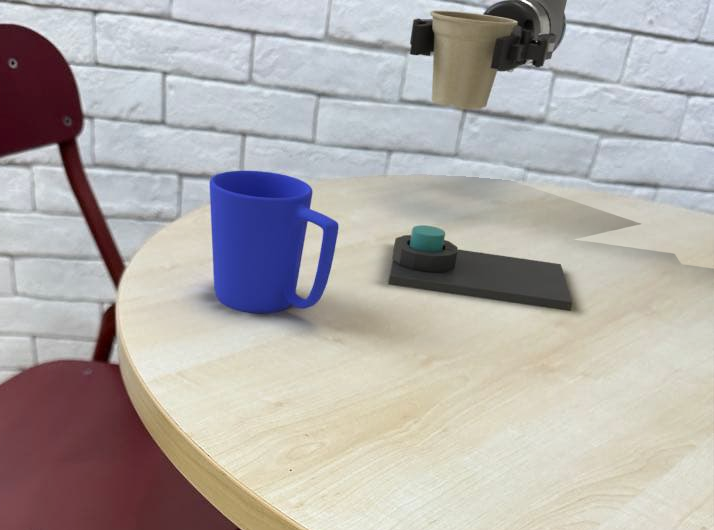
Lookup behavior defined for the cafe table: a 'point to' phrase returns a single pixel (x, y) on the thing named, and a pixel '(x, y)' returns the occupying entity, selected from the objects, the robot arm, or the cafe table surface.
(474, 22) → the flower pot
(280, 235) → the mug
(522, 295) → the dark grey piece
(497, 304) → the cafe table surface
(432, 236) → the button
